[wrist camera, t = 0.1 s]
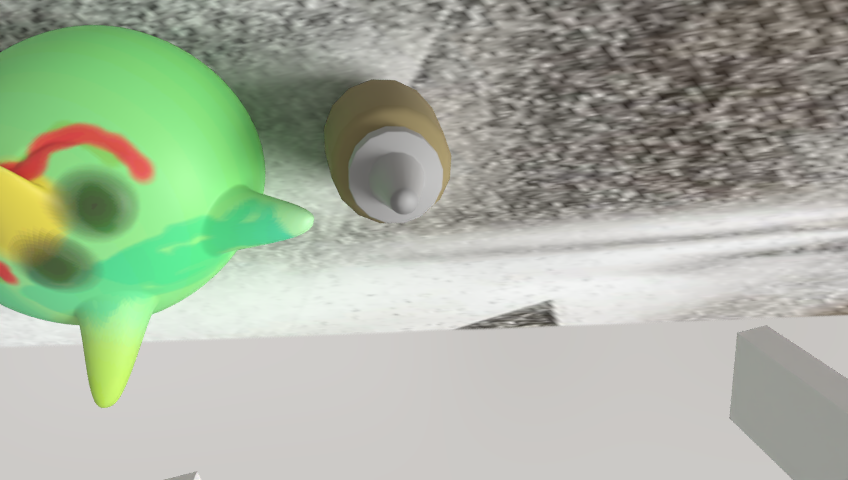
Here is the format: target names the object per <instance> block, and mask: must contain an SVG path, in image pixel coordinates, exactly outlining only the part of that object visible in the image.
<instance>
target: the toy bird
mask: <svg viewBox="0 0 848 480" xmlns="http://www.w3.org/2000/svg"><path fill="white" fill-rule="evenodd" d="M264 184H265V161H264V155H263V150H262V146H261V142H260V139H259V136H258V133H257V131H256V128H255V126H254V124H253V122H252V120H251V118H250V116H249V114H248V112H247V111H246V109H245V108H244V106H243V104H242V103H241V102H240V100H239V99H238V97H237V96H236V95H235V94H234V92H233V91H232V90H231V89H230V88H229V87H228V85H227V84H226V83H225V82H224V81H223V80H222V79H221V78H220V77H219V76H218V75H217V74H215V73H214V72H213V71H212V70H211V69H210V68H208V67H207V66H206V65H205V64H203V63H202V62H201V61H199V60H198V59H196V58H195V57H194V56H192V55H190V54H189V53H187V52H186V51H184V50H182V49H180V48H179V47H177V46H175V45H173V44H171V43H169V42H166V41H164V40H162V39H159V38H157V37H154V36H152V35H149V34H146V33H142V32H139V31H135V30H131V29H126V28H121V27H114V26H103V25H84V26H73V27H66V28H61V29H56V30H52V31H48V32H45V33H42V34H39V35H36V36H33V37H31V38H28V39H26V40H23V41H21V42H19V43H17V44H15V45H13V46H11V47H9V48H7V49H6V50H4V51H2V52H0V304H1V305H3V306H5V307H8V308H10V309H12V310H14V311H17V312H20V313H22V314H25V315H28V316H31V317H35V318H38V319H42V320H46V321H51V322H56V323H63V324H71V325H80V330H81V335H82V342H83V348H84V355H85V362H86V368H87V375H88V380H89V385H90V389H91V393H92V396H93V398H94V401H95V403H96V404H97V405H98V406H99V407H101V408H107V407H110V406H112V405H113V404H115V403H116V402H117V400H118V399H119V398H120V396H121V394H122V392H123V390H124V388H125V386H126V384H127V382H128V379H129V377H130V374H131V371H132V368H133V366H134V363H135V360H136V357H137V355H138V351H139V349H140V346H141V343H142V340H143V337H144V334H145V331H146V328H147V325H148V322H149V320H150V317H151V315H152V314H154V313H157V312H159V311H162V310H164V309H166V308H168V307H170V306H172V305H174V304H176V303H178V302H180V301H181V300H183V299H185V298H186V297H188V296H189V295H191V294H192V293H194V292H195V291H197V290H198V289H199V288H201V287H202V286H203V285H204V284H206V283H207V282H208V281H209V280H210V279H212V278H213V277H214V276H215V275H216V274H217V273H218V272H219V271H220V270H221V269H222V268H223V267H224V266H225V265H226V263H227V262H228V261H229V260H230V259H231V258H232V256H233V255H234V254H235V252H236V251H237V250H240V249H245V248H250V247H255V246H260V245H265V244H270V243H274V242H278V241H283V240H286V239H290V238H293V237H296V236H298V235H301V234H303V233H305V232H306V231H308V230H309V229H310V228H311V226H312V225H313V222H314V217H313V215H312V214H311V213H310V212H309V211H308V210H306V209H304V208H302V207H300V206H297V205H295V204H292V203H289V202H286V201H283V200H280V199H277V198H274V197H270V196H267V195H264V194H263V191H264Z"/></svg>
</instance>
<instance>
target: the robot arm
mask: <svg viewBox="0 0 848 480" xmlns="http://www.w3.org/2000/svg"><path fill="white" fill-rule="evenodd" d="M730 419H731V420H732V421H733V422H734V423H735V424H736V425H737V426H738V427H739V428H740V429H741V430H742V431H743V432H744V433H745V434H746V435H747V436H748V437H749V438H750V439H752V440H753V441H754V442H755V443H756V444H757V445H758V446H759V447H760V448H761V449H762V450H763V451H764V452H765V453H766V454H767V455H768V456H769V457H770V458H771V459H772V460H773V461H774V462H775V463H776V464H777V465H778V466H779V467H780V468H782V469H783V470H784V471H785V472H786V473H787V474H788V475H789V476H790V477H791V478H792V479H793V480H848V379H847V378H846V377H844V376H842V375H841V374H839V373H838V372H836V371H835V370H833V369H832V368H830V367H829V366H827V365H826V364H824V363H823V362H821V361H820V360H818V359H817V358H815V357H814V356H812V355H811V354H809V353H808V352H806V351H805V350H803V349H802V348H800V347H799V346H797V345H796V344H794V343H792V342H791V341H789V340H788V339H786V338H785V337H783V336H782V335H780V334H779V333H777V332H776V331H774V330H773V329H771V328H770V327H768V326H762V327H758V328H754V329H750V330H747V331H742V332H739V333H737V342H736V352H735V363H734V374H733V386H732V396H731V407H730ZM166 480H201V478H200V476H199V474H198V473H197V472H193V473H189V474H185V475H181V476H178V477H173V478H170V479H166Z"/></svg>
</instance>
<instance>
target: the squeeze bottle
mask: <svg viewBox="0 0 848 480" xmlns="http://www.w3.org/2000/svg"><path fill="white" fill-rule="evenodd" d="M324 143H325V154H326V158H327V161H328V165H329V169H330V173H331V177H332V179H333V182H334V184H335V186H336V188H337V190H338V192H339V195H340V197H341V199H342V200H343V201H344V202H345V203H346V204H347V205H348V206H350V207H351V208H352V209H353V210H354V211H355V212H356V213H357V214H358V215H360V216H363V217H365V218H368V219H371V220H373V221H376V222H379V223H406V222H408V221H411V220H413V219H416V218H418V217H421V216H422V215H423V214H424V213H426V212H427V211H428V210H429V209H430V208H431V207H432V206H433V205H434V204H435V203H436V202H437V201H438V200H440V198H441V196H442V194H443V192H444V190H445V188H446V185H447V183H448V181H449V179H450V167H451V153H450V151H449V148H448V145H447V142H446V139H445V136H444V133H443V131H442V129H441V127H440V124H439V122H438V120H437V118H436V115H435V113H434V111H433V109H432V107H431V106H430V105H429V104H428V103H427V102H426V101H425V99H424V98H423V97H422V96H421V95H420V94H419V93H418V92H417V91H416V90H414V89H412V88H410V87H408V86H406V85H404V84H402V83H400V82H397V81H395V80H369V81H367V82H364V83H362V84H359V85H357V86H354V87H352V88H349V89H348V90H347V91H346V92H345V93H344V94H343V95H342V96H341V97H340V98H339V99H338V100H337V101H336V102H335V103H334V104H333V105H332V108H331V110H330V113H329V116H328V118H327V121H326V124H325V126H324Z"/></svg>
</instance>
